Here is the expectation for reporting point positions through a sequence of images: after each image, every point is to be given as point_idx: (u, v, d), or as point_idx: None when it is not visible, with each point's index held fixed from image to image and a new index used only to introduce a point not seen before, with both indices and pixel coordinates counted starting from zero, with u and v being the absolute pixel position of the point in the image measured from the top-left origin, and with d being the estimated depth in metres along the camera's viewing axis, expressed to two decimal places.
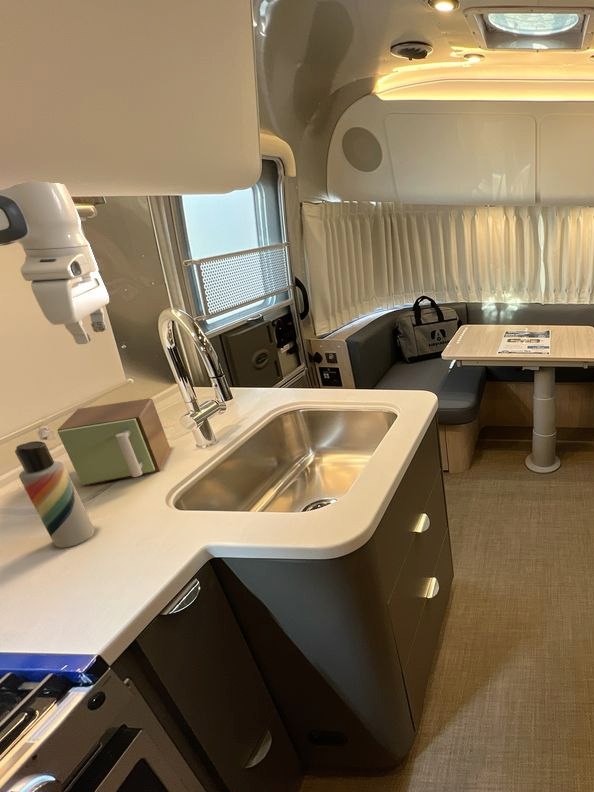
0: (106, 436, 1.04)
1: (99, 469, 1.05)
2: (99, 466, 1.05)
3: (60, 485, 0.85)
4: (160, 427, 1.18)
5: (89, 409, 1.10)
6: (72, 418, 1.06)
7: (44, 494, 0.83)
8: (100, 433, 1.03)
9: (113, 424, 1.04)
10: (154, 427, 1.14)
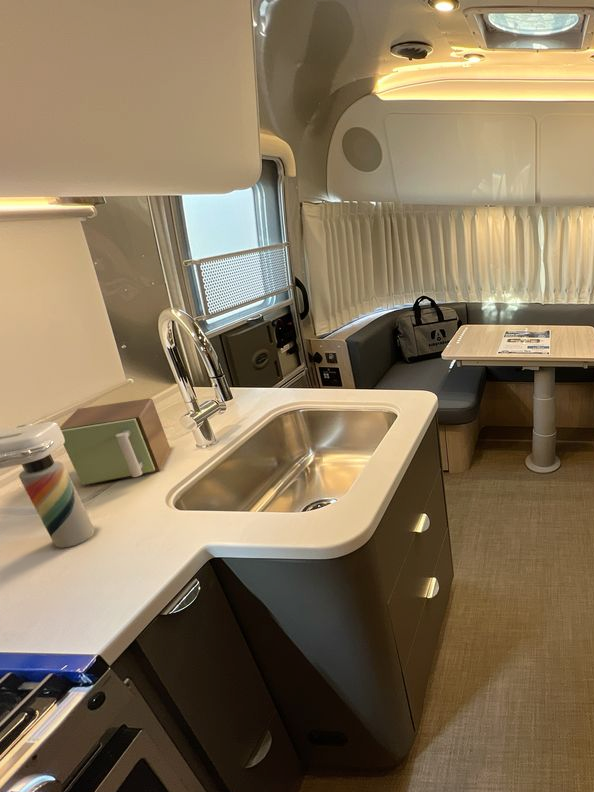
0: (106, 436, 1.04)
1: (99, 469, 1.05)
2: (99, 466, 1.05)
3: (60, 485, 0.85)
4: (160, 427, 1.18)
5: (89, 409, 1.10)
6: (72, 418, 1.06)
7: (44, 494, 0.83)
8: (100, 433, 1.03)
9: (113, 424, 1.04)
10: (154, 427, 1.14)
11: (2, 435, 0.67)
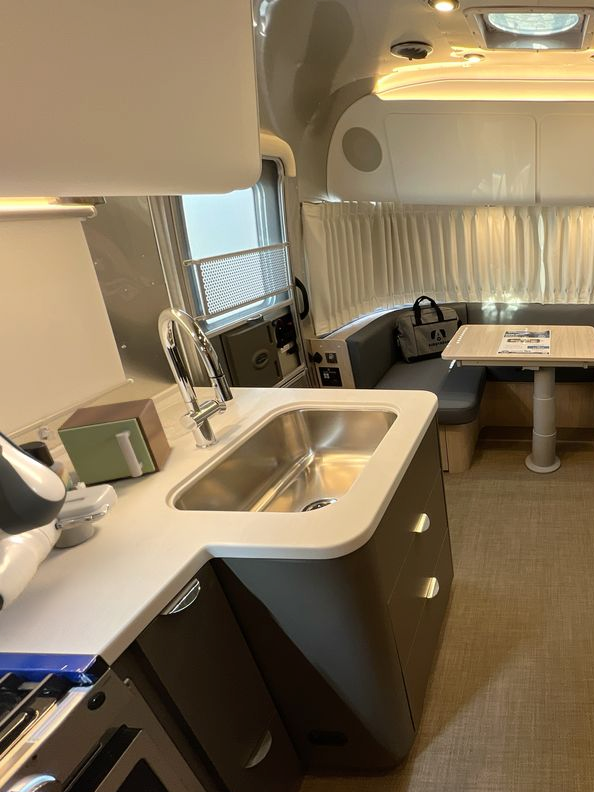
0: (106, 436, 1.04)
1: (99, 469, 1.05)
2: (99, 466, 1.05)
3: None
4: (160, 427, 1.18)
5: (89, 409, 1.10)
6: (72, 418, 1.06)
7: None
8: (100, 433, 1.03)
9: (113, 424, 1.04)
10: (154, 427, 1.14)
11: (69, 498, 0.82)
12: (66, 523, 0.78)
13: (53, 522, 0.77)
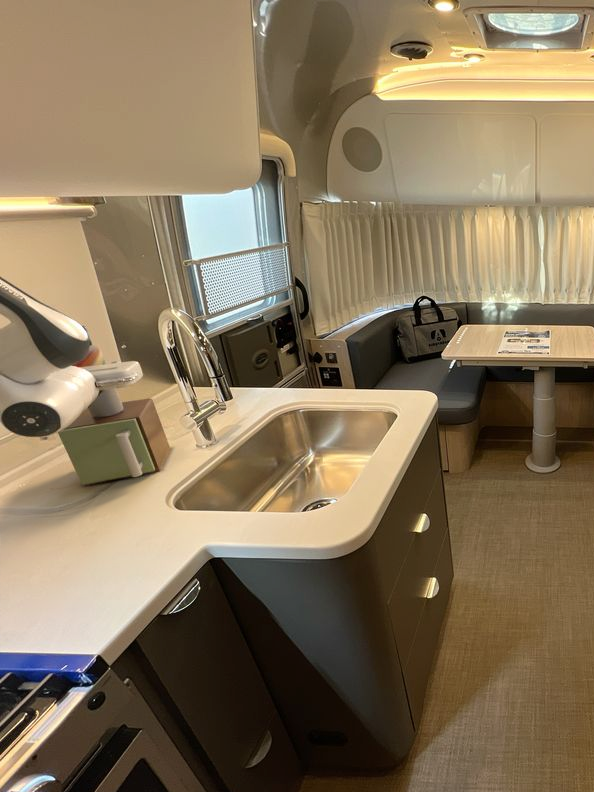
0: (106, 436, 1.04)
1: (99, 469, 1.05)
2: (99, 466, 1.05)
3: (97, 362, 1.03)
4: (160, 427, 1.18)
5: None
6: None
7: None
8: (100, 433, 1.03)
9: (113, 424, 1.04)
10: (154, 427, 1.14)
11: (105, 367, 1.00)
12: (103, 382, 0.96)
13: (93, 380, 0.95)
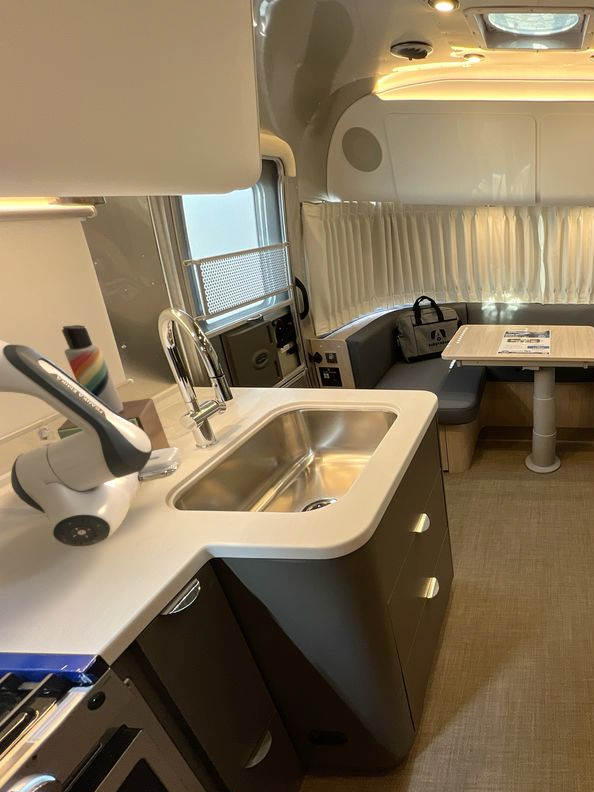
0: None
1: None
2: None
3: (97, 362, 1.03)
4: (160, 427, 1.18)
5: None
6: None
7: (84, 367, 1.02)
8: None
9: None
10: (154, 427, 1.14)
11: None
12: (146, 476, 0.95)
13: (136, 474, 0.95)
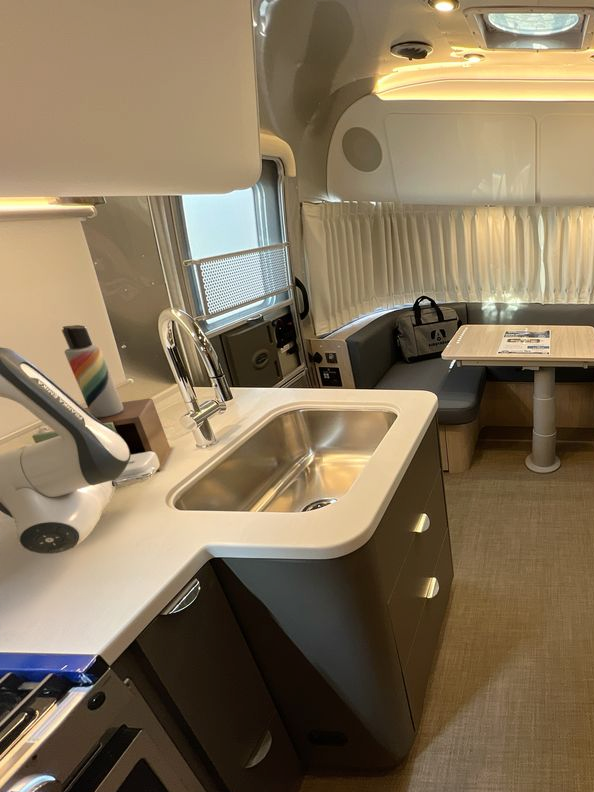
0: None
1: None
2: None
3: (97, 362, 1.03)
4: (160, 427, 1.18)
5: None
6: None
7: (84, 367, 1.02)
8: None
9: None
10: (154, 427, 1.14)
11: None
12: (121, 481, 0.94)
13: (110, 480, 0.93)
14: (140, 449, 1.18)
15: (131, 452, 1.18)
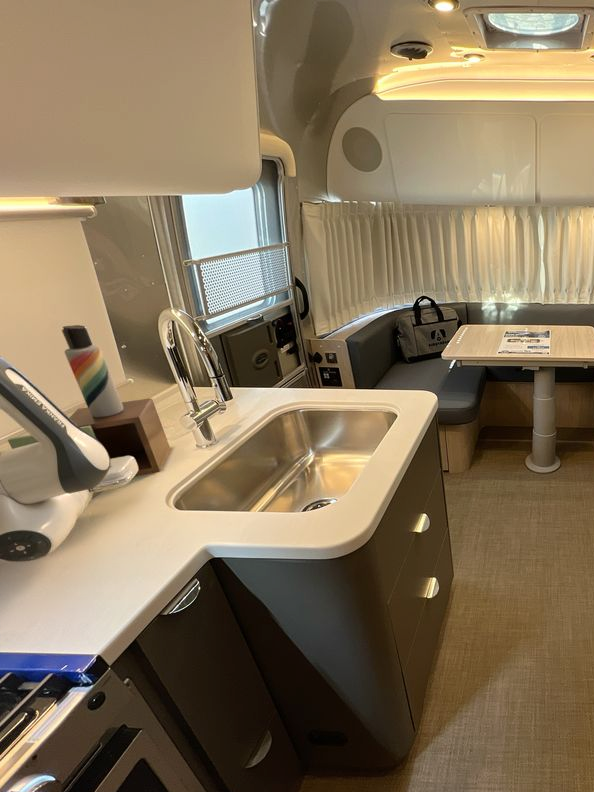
0: None
1: None
2: None
3: (97, 362, 1.03)
4: (160, 427, 1.18)
5: None
6: (72, 418, 1.06)
7: (84, 367, 1.02)
8: None
9: None
10: (154, 427, 1.14)
11: None
12: (97, 486, 0.92)
13: None
14: (140, 449, 1.18)
15: (131, 452, 1.18)
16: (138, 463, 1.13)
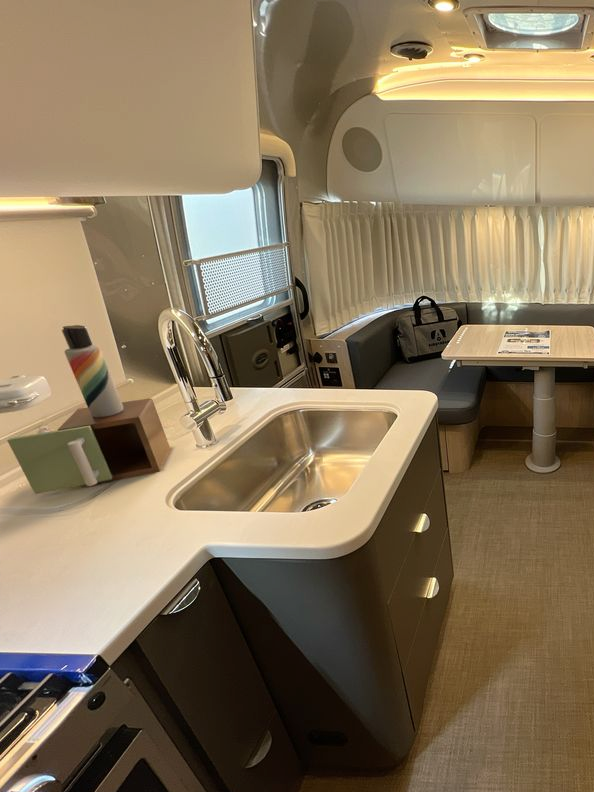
0: (59, 444, 1.01)
1: (53, 478, 1.02)
2: (52, 475, 1.02)
3: (97, 362, 1.03)
4: (160, 427, 1.18)
5: None
6: (72, 418, 1.06)
7: (84, 367, 1.02)
8: (52, 441, 1.00)
9: (66, 431, 1.01)
10: (154, 427, 1.14)
11: None
12: None
13: None
14: (140, 449, 1.18)
15: (131, 452, 1.18)
16: (138, 463, 1.13)
